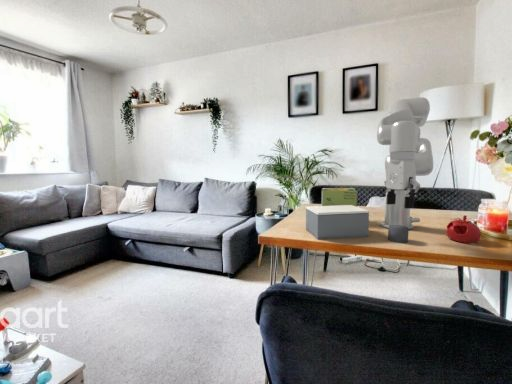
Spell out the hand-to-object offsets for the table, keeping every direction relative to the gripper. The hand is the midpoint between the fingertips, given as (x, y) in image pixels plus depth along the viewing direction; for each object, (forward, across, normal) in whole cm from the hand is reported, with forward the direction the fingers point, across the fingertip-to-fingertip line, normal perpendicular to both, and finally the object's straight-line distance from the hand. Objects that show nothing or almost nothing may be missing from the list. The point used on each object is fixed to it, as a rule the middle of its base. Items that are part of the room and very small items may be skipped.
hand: (399, 206), depth 94 cm
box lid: (+3, -14, -18) cm, 23 cm away
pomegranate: (+13, +3, +23) cm, 26 cm away
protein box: (+12, -34, -7) cm, 37 cm away
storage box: (+13, -14, -17) cm, 26 cm away
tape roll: (+13, -1, +1) cm, 13 cm away
